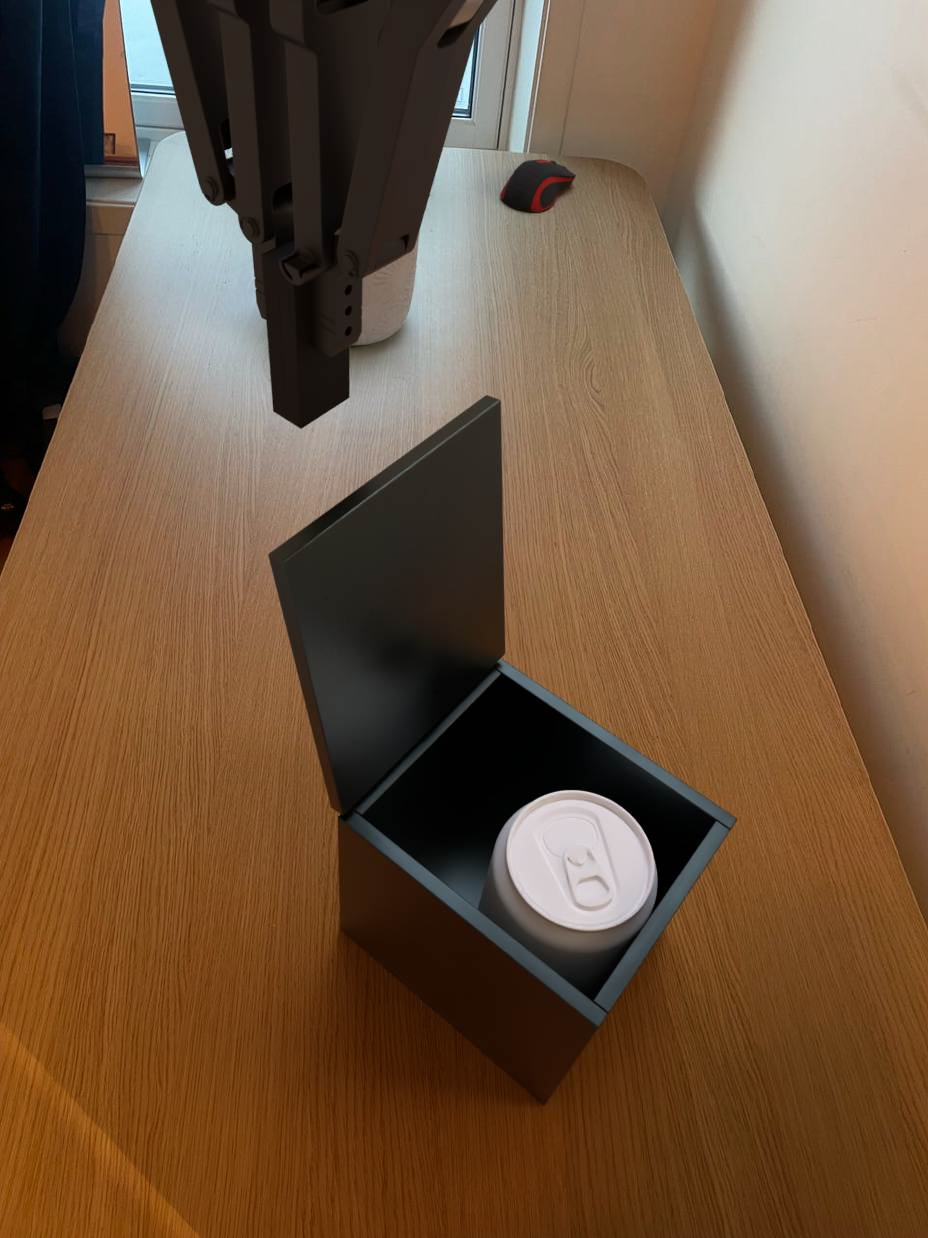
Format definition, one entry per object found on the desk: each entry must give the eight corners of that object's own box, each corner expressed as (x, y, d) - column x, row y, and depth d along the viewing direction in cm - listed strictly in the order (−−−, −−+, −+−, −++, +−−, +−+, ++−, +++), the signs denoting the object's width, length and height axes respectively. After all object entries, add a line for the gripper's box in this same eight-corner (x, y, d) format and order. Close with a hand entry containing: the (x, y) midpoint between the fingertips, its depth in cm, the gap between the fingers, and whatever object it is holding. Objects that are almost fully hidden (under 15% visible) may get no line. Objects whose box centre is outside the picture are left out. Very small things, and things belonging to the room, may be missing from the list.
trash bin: (664, 926, 56) (738, 818, 45) (544, 1106, 49) (598, 1029, 38) (472, 783, 61) (498, 656, 50) (339, 929, 54) (336, 817, 43)
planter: (278, 290, 94) (271, 183, 86) (397, 282, 97) (402, 177, 89) (299, 364, 87) (293, 255, 79) (428, 352, 90) (435, 246, 82)
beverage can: (580, 867, 57) (624, 766, 48) (632, 999, 52) (693, 915, 43) (452, 899, 55) (474, 800, 46) (495, 1040, 50) (529, 962, 41)
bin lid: (501, 399, 39) (486, 393, 39) (282, 562, 32) (266, 553, 32) (506, 654, 50) (493, 647, 50) (342, 816, 43) (330, 808, 43)
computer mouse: (579, 184, 115) (586, 150, 112) (538, 217, 109) (543, 183, 106) (535, 167, 117) (540, 134, 114) (491, 199, 110) (495, 165, 107)
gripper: (656, -509, 18) (501, 437, 36) (197, -577, 23) (263, 298, 41) (406, -551, 14) (372, 538, 32) (-96, -624, 18) (123, 372, 37)
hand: (311, 403), depth 37 cm, fingers closed
